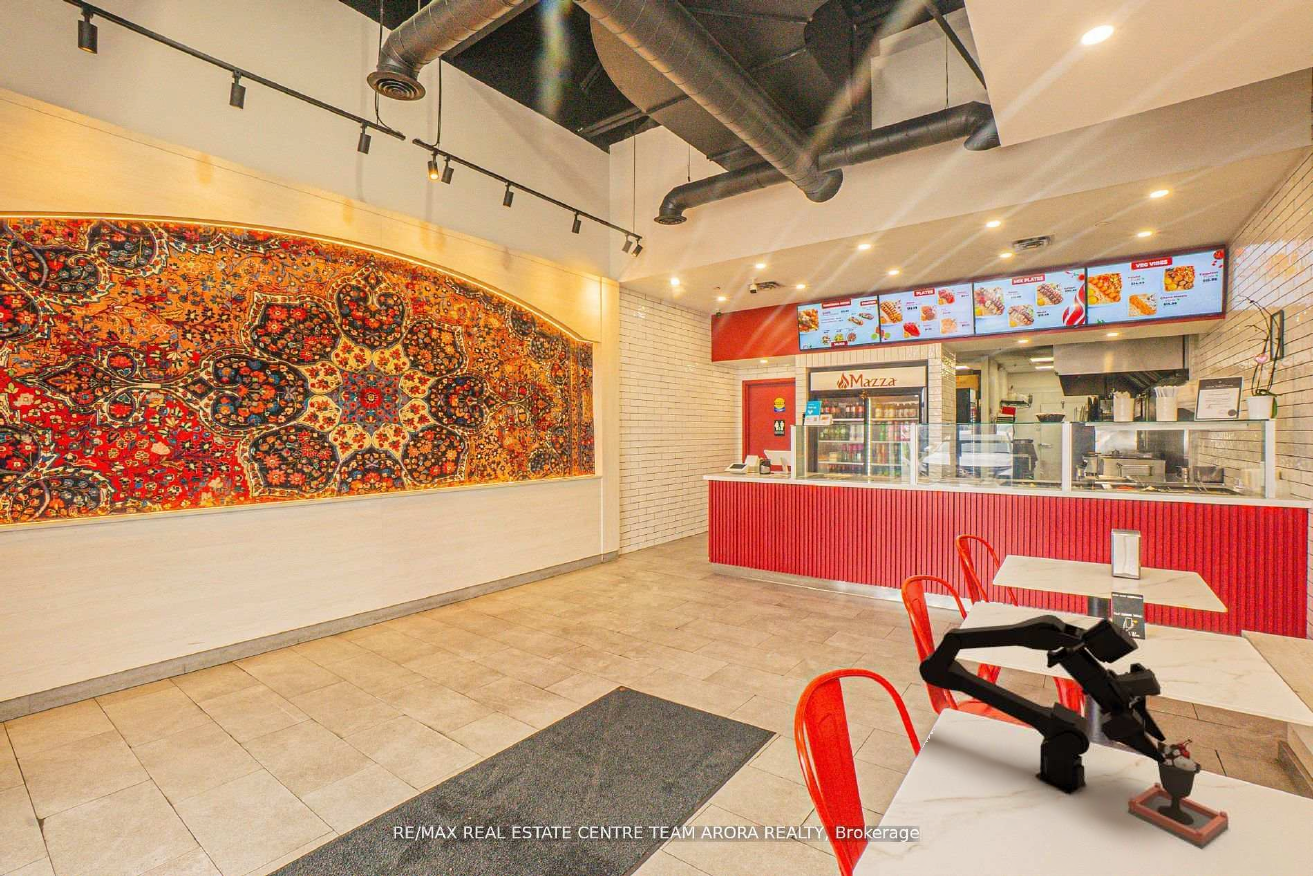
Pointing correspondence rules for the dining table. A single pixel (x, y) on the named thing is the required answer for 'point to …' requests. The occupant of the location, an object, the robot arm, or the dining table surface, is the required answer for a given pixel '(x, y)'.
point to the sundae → (1177, 779)
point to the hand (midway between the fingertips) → (1163, 751)
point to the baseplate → (1197, 833)
